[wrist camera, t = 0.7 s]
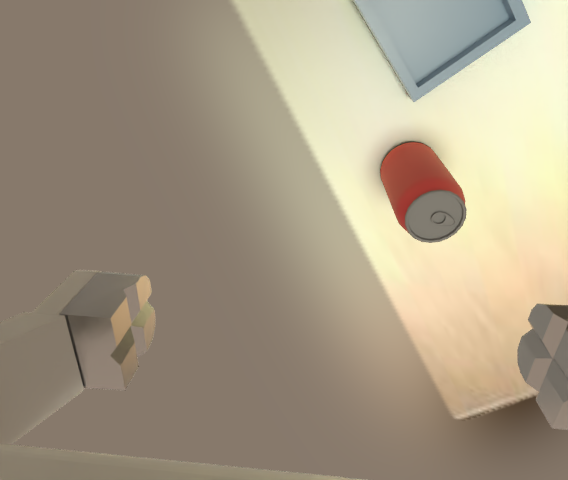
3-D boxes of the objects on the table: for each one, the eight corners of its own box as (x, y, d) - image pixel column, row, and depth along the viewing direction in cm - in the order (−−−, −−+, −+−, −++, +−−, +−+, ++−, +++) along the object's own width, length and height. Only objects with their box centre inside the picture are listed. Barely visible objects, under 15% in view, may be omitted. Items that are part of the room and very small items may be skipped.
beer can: (420, 199, 51) (449, 255, 41) (370, 183, 50) (387, 237, 40) (447, 150, 48) (486, 197, 37) (394, 132, 47) (419, 176, 37)
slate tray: (348, -7, 40) (350, -6, 38) (468, -107, 35) (476, -111, 34) (409, 97, 45) (413, 102, 43) (521, 20, 40) (530, 22, 39)
